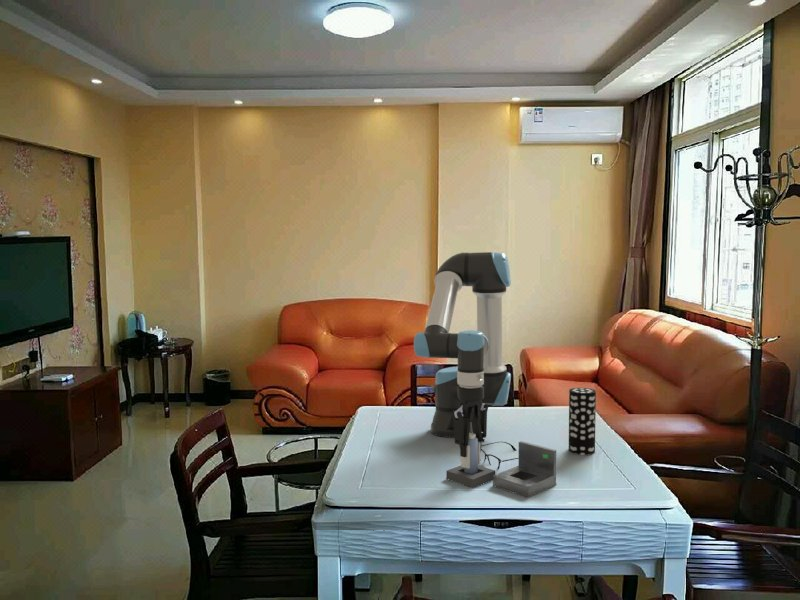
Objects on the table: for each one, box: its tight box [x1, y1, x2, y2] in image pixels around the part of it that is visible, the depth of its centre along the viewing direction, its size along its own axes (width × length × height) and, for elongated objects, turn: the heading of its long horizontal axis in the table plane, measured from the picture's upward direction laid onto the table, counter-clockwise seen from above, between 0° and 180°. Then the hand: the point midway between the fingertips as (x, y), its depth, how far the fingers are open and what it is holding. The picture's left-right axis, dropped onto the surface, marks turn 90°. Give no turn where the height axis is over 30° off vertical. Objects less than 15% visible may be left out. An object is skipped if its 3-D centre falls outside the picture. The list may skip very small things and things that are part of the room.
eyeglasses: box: [481, 441, 519, 470], centre depth 208 cm, size 16×16×4 cm
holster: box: [445, 465, 496, 489], centre depth 192 cm, size 10×10×2 cm
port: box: [492, 440, 557, 499], centre depth 186 cm, size 12×13×10 cm
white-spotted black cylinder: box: [568, 387, 597, 456], centre depth 215 cm, size 8×8×20 cm
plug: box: [464, 433, 478, 475], centre depth 191 cm, size 4×4×13 cm
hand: (470, 465), depth 191 cm, fingers closed on plug, 4 cm apart
